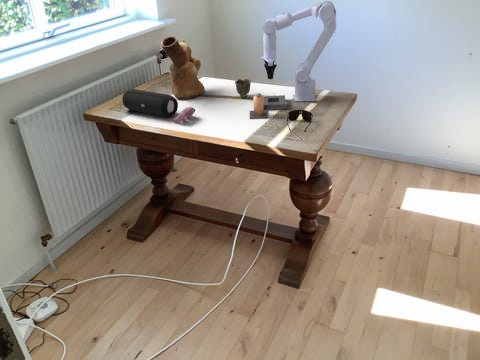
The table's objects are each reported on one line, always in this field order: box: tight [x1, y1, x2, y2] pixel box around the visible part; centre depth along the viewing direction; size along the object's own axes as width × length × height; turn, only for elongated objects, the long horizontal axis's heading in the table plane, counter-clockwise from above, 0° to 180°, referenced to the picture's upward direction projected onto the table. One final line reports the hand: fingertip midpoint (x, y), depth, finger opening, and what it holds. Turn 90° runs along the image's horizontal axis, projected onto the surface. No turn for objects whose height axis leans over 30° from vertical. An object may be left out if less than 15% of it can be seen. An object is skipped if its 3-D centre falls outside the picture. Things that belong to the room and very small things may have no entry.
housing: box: [263, 94, 287, 111], centre depth 202 cm, size 11×11×2 cm
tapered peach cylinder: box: [252, 92, 265, 116], centre depth 191 cm, size 4×4×9 cm
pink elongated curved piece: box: [173, 106, 196, 124], centre depth 192 cm, size 10×5×7 cm, turn 149°
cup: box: [234, 78, 252, 99], centre depth 211 cm, size 8×7×8 cm
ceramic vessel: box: [160, 36, 206, 100], centre depth 210 cm, size 16×22×30 cm
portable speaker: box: [121, 88, 179, 118], centre depth 200 cm, size 26×10×10 cm, turn 61°
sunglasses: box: [286, 109, 314, 133], centre depth 182 cm, size 10×12×5 cm
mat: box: [249, 110, 269, 120], centre depth 194 cm, size 8×8×1 cm
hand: (270, 76), depth 206 cm, fingers open, 7 cm apart
